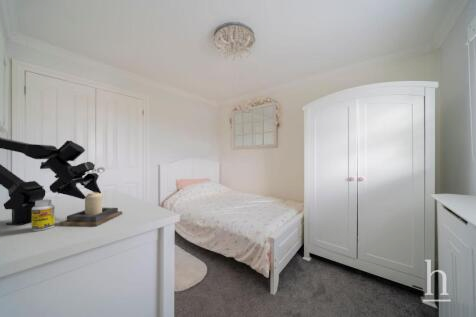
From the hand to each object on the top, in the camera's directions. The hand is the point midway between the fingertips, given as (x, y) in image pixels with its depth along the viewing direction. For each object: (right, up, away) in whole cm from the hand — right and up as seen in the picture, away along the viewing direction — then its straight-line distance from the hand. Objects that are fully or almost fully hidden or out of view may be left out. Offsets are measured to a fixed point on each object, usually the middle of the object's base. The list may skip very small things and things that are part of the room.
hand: (92, 195), depth 73 cm
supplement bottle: (-10, -10, -9) cm, 17 cm away
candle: (0, -9, 0) cm, 9 cm away
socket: (+1, -10, 0) cm, 10 cm away
